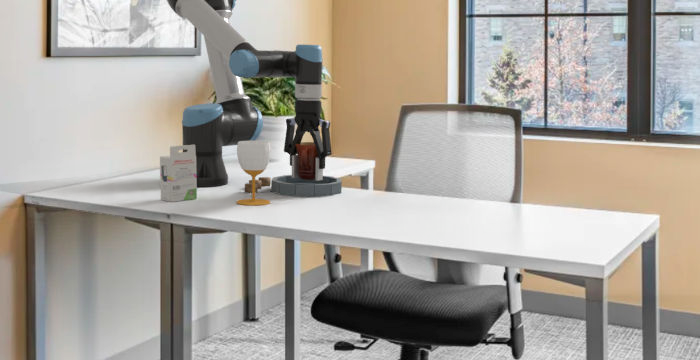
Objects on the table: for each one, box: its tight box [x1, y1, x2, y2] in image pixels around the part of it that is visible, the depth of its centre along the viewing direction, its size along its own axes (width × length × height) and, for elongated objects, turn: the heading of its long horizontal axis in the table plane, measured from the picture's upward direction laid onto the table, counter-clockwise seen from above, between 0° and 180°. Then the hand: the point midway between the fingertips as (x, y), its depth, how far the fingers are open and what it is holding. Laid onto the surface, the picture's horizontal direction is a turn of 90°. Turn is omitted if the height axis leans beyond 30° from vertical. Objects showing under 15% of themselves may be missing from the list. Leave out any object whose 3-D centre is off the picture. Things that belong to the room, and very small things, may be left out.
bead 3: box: [257, 176, 272, 187], centre depth 263 cm, size 4×4×2 cm
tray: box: [270, 174, 343, 198], centre depth 255 cm, size 20×20×3 cm
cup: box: [235, 140, 272, 207], centre depth 233 cm, size 9×9×16 cm
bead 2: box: [248, 179, 262, 190], centre depth 257 cm, size 4×4×2 cm
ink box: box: [159, 144, 198, 203], centre depth 235 cm, size 9×5×15 cm, turn 134°
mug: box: [295, 141, 318, 180], centre depth 254 cm, size 12×9×10 cm
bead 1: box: [244, 182, 259, 194], centre depth 250 cm, size 4×4×2 cm
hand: (307, 178), depth 255 cm, fingers closed on mug, 7 cm apart
